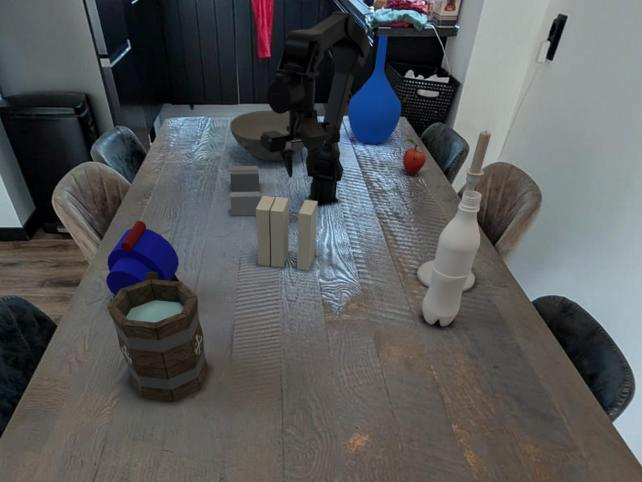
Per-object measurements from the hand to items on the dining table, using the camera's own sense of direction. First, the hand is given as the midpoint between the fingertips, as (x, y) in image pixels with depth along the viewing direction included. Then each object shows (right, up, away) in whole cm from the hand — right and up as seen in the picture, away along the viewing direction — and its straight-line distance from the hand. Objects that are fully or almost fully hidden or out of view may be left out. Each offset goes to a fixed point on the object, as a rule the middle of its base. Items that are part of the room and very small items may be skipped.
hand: (300, 175), depth 118 cm
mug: (-24, -51, -33) cm, 65 cm away
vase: (+26, +39, +53) cm, 71 cm away
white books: (-6, -23, -6) cm, 25 cm away
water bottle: (+28, -40, -21) cm, 53 cm away
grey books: (-15, +2, +16) cm, 22 cm away
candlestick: (+33, -29, -10) cm, 45 cm away
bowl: (-9, +26, +40) cm, 48 cm away
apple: (+35, +16, +32) cm, 50 cm away
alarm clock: (-32, -36, -19) cm, 51 cm away
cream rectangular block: (+1, -24, -7) cm, 25 cm away
